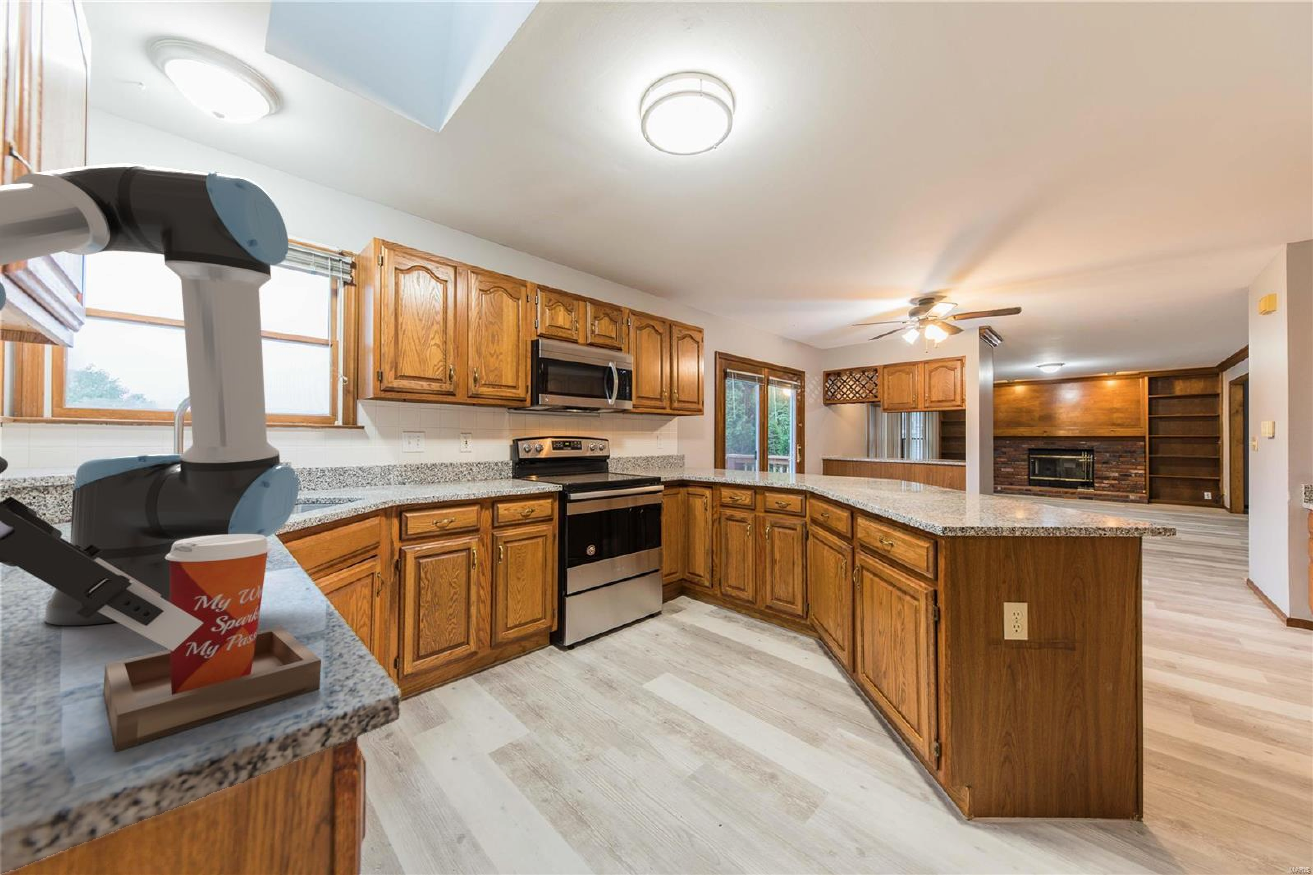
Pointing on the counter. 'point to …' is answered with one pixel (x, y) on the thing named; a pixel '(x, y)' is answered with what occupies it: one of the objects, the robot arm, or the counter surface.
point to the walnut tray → (202, 690)
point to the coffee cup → (217, 606)
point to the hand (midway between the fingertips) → (166, 619)
